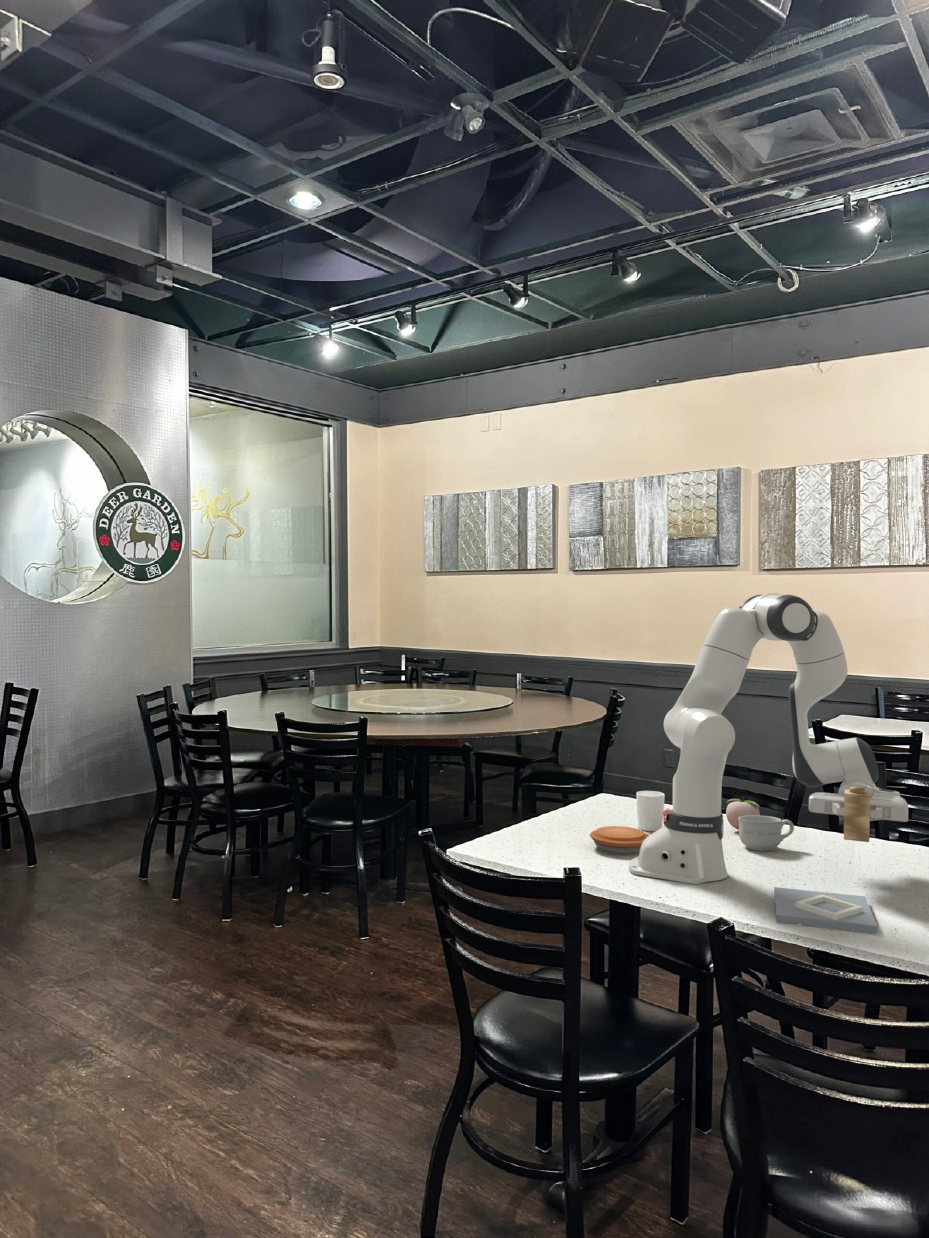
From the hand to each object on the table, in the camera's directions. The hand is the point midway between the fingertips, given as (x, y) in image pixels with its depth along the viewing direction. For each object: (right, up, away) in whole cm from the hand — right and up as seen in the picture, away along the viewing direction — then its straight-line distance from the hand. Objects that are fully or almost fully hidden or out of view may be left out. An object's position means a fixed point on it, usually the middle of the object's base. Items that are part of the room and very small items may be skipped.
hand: (856, 813), depth 184 cm
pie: (-45, -18, +36) cm, 60 cm away
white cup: (-32, -18, +58) cm, 69 cm away
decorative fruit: (-7, -18, +55) cm, 58 cm away
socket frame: (-12, -16, -13) cm, 24 cm away
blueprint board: (-12, -18, -11) cm, 24 cm away
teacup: (-6, -18, +38) cm, 42 cm away
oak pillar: (0, -6, +1) cm, 6 cm away
